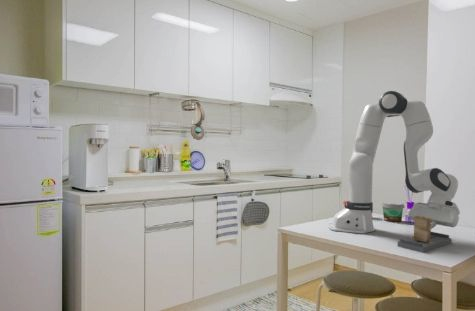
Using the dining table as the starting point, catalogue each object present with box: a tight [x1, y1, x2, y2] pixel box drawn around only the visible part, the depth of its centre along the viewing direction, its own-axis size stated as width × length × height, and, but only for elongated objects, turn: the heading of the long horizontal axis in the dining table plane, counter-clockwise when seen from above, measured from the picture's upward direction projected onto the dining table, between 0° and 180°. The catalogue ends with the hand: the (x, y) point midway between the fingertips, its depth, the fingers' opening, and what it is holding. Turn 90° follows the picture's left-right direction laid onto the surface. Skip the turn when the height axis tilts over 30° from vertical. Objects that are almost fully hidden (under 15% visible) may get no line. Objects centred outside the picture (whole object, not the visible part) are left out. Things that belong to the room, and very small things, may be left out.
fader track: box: [397, 231, 452, 253], centre depth 163 cm, size 25×11×3 cm, turn 127°
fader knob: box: [413, 216, 432, 242], centre depth 161 cm, size 4×5×10 cm
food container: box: [381, 202, 405, 223], centre depth 207 cm, size 12×6×10 cm, turn 87°
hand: (426, 229), depth 163 cm, fingers closed
